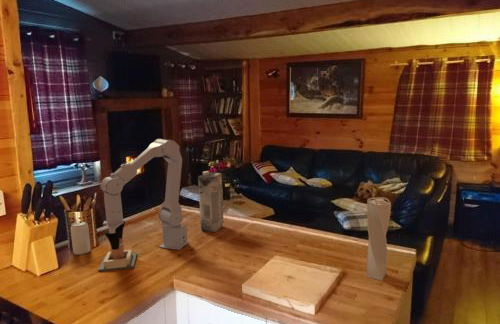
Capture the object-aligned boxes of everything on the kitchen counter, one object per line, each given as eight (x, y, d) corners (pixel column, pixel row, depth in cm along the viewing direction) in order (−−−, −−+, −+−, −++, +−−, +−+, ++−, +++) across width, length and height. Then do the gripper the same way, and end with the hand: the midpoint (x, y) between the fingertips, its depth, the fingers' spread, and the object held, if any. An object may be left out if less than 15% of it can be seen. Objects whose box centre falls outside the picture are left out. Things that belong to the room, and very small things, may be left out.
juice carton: (225, 225, 174) (223, 169, 169) (216, 233, 164) (213, 174, 159) (208, 223, 177) (205, 168, 172) (198, 231, 167) (195, 173, 162)
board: (137, 254, 144) (136, 247, 144) (133, 268, 133) (132, 260, 132) (105, 257, 142) (104, 250, 142) (98, 271, 131) (97, 264, 130)
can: (84, 255, 144) (80, 226, 142) (69, 254, 146) (66, 225, 143) (94, 249, 150) (91, 221, 148) (80, 248, 152) (77, 220, 150)
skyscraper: (384, 283, 117) (388, 199, 112) (361, 278, 121) (364, 196, 116) (390, 273, 124) (394, 193, 119) (367, 268, 128) (370, 190, 123)
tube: (127, 258, 139) (125, 238, 137) (119, 263, 134) (117, 243, 133) (117, 257, 140) (115, 237, 139) (109, 262, 136) (107, 242, 134)
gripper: (106, 204, 140) (109, 238, 142) (98, 217, 126) (101, 254, 128) (125, 203, 141) (128, 236, 144) (119, 215, 127) (123, 252, 130)
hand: (117, 244), depth 136 cm, fingers open, 7 cm apart
